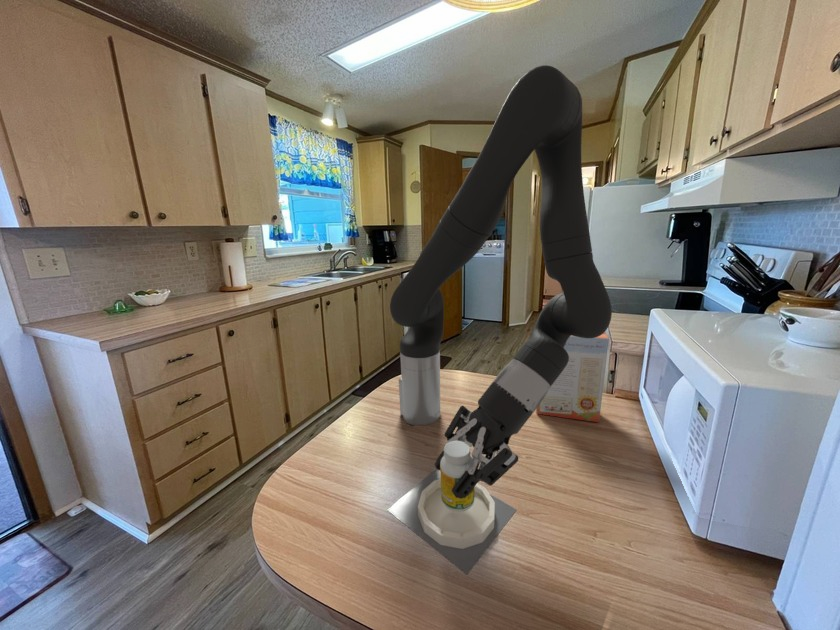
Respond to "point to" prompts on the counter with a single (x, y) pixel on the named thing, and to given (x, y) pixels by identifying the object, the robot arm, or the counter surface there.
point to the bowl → (456, 518)
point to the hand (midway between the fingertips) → (447, 481)
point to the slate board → (459, 557)
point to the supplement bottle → (455, 475)
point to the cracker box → (579, 381)
